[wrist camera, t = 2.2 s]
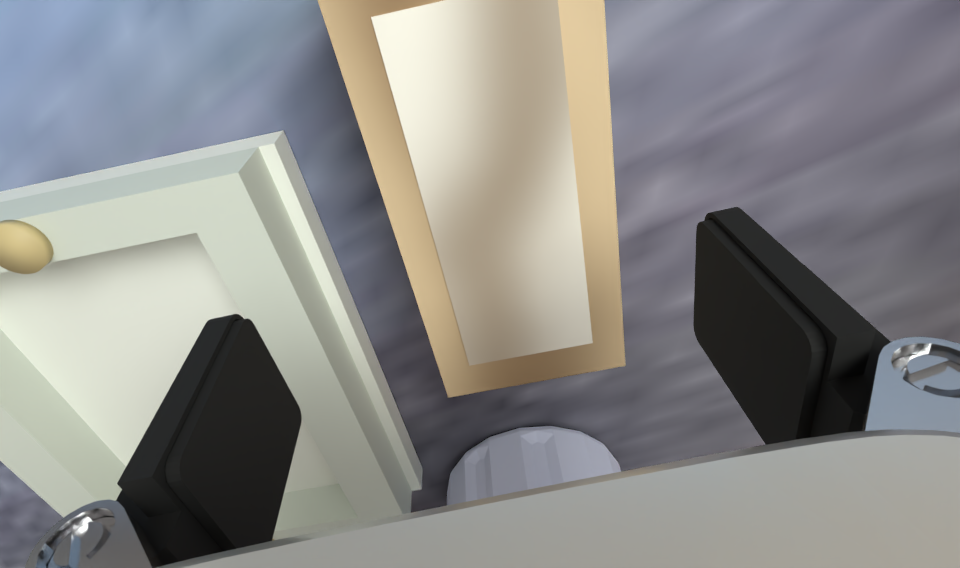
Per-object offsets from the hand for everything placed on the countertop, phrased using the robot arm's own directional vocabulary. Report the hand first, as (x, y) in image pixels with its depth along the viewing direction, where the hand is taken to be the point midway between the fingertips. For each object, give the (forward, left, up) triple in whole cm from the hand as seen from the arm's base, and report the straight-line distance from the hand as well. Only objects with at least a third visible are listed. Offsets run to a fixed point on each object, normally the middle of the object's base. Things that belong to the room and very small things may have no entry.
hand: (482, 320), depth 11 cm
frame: (-1, 0, -9) cm, 9 cm away
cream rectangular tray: (+13, +7, -9) cm, 17 cm away
